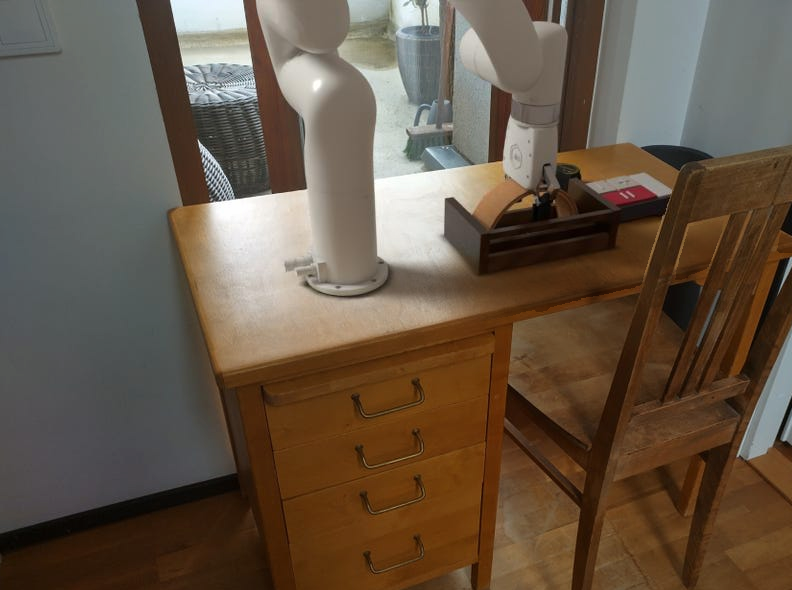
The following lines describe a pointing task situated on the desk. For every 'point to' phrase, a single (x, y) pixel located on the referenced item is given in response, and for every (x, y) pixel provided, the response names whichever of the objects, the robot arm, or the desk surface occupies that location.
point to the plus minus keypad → (634, 195)
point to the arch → (511, 193)
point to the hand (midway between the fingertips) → (526, 213)
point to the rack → (516, 251)
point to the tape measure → (566, 174)
